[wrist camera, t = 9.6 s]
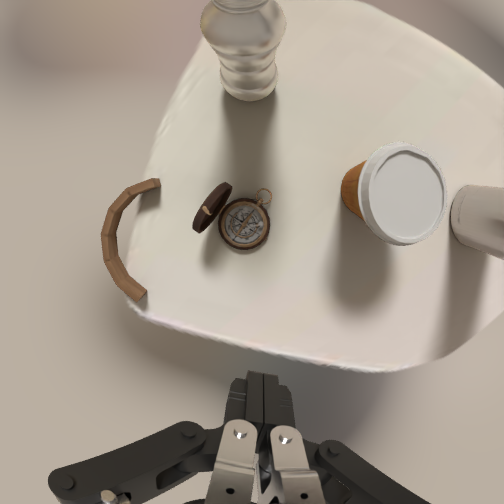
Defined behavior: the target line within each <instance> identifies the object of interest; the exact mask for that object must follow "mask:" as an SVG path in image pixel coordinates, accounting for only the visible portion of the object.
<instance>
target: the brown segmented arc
mask: <svg viewBox="0 0 504 504" xmlns="http://www.w3.org/2000/svg"><path fill="white" fill-rule="evenodd" d="M160 186H161V184H160V180H159V179H156V178H151V179H149V180H146V181H143V182H141V183H138V184H136V185H133V186H131V187H128V188H126V189H125V191H123V192H122V194H121V195H120V196H119V197H118V198H117V199H116V200H115V201H114V203H113V204H112V205H111V206H110V207H109V209H108V212H107V215H106V218H105V222H104V225H103V229H102V232H101V241H102V250H103V259H104V263H105V265H106V267H107V269H108V270H109V272H110V274H111V276H112V278H113V280H114V282H115V283H116V285H117V286H118V287H119V288H120V289H121V290H123V291H124V292H125V293H126V294H127V295H128V296H130V297H131V298H132V299H133V300H134V301H136V302H138V301H139V300H140V299H141V298H142V297H143V296H144V294H145V293H146V291H147V290H146V289H145V288H144V287H142V286H141V285H140V284H139V283H138V282H136V281H135V280H134V279H133V278H132V277H130V276H129V275H128V273H127V271H126V269H125V267H124V265H123V263H122V261H121V259H120V257H119V256H118V248H117V237H116V231H117V228H118V225H119V222H120V218H121V215H122V212H123V210H124V209H125V208H126V207H127V206H128V205H129V204H130V203H131V202H132V200H133V199H134V198H135V197H136V196H137V195H138V194H141V193H144V192H146V191H149V190H152V189H155V188H157V187H160Z"/></svg>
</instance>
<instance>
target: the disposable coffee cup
mask: <svg viewBox="0 0 504 504" xmlns="http://www.w3.org/2000/svg"><path fill="white" fill-rule="evenodd" d="M341 195H342V198H343V201H344V203H345V205H346V206H347V207H348V208H349V209H350V210H351V211H352V212H354V213H355V214H356V215H358V216H359V217H360V218H361V219H363V220H364V221H365V222H366V224H367V225H368V226H369V228H370V229H371V230H372V232H373V233H374V234H375V235H377V236H378V237H379V238H380V239H382V240H383V241H385V242H387V243H390V244H393V245H398V246H406V245H411V244H414V243H417V242H419V241H422V240H424V239H426V238H428V237H429V236H430V235H431V234H432V233H433V232H434V231H435V230H436V229H437V228H438V226H439V225H440V223H441V221H442V219H443V217H444V213H445V210H446V207H447V188H446V182H445V178H444V176H443V173H442V171H441V169H440V167H439V166H438V164H437V162H436V161H435V160H434V159H433V158H432V157H431V156H430V155H429V154H428V153H426V152H425V151H423V150H421V149H420V148H418V147H417V146H414V145H412V144H409V143H405V142H393V143H389V144H386V145H383V146H382V147H380V148H379V149H377V150H375V151H374V152H373V153H372V155H371V156H370V157H369V158H368V159H367V160H366V161H364V162H362V163H361V164H359V165H357V166H356V167H354V168H352V169H350V170H349V171H348V172H347V173H346V175H345V176H344V178H343V180H342V185H341Z"/></svg>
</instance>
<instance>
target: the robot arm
mask: <svg viewBox="0 0 504 504" xmlns="http://www.w3.org/2000/svg"><path fill="white" fill-rule="evenodd" d="M451 224H452V229H453V232H454V234H455V236H456V238H457V239H458V240H459V242H461V243H462V244H464V245H467V246H470V247H472V248H475V249H477V250H480V251H482V252H485V253H487V254H490V255H492V256H495V257H497V258H500V259H502V260H504V188H498V187H488V186H477V185H468V186H465V187H463V188H462V189H461V190H460V191H459V192H458V193H457V195H456V197H455V199H454V201H453V205H452V210H451ZM278 383H279V382H278V375H274V374H268V373H261V372H255V371H250V370H248V372H247V375H246V379H239V378H236V379H235V380H234V381H233V382H232V384H231V387H230V391H229V395H228V399H227V403H226V410H225V417H224V424H223V425H222V426H221V427H219V428H216V429H206V430H204V429H203V428H202V427H201V426H200V425H198V424H197V423H194V422H190V421H182V422H179V423H176V424H174V425H172V426H170V427H168V428H166V429H164V430H161V431H159V432H157V433H155V434H152V435H150V436H148V437H146V438H143V439H141V440H138V441H136V442H134V443H131V444H129V445H126V446H124V447H121V448H118V449H116V450H113V451H110V452H108V453H105V454H102V455H100V456H97V457H94V458H91V459H88V460H85V461H82V462H78V463H75V464H72V465H69V466H65V467H62V468H58V469H55V470H54V471H52V472H51V473H50V475H49V477H48V484H49V487H50V489H51V491H52V492H53V493H54V495H55V496H56V498H57V500H58V501H59V502H60V503H61V504H142V503H144V502H146V501H148V500H150V499H152V498H154V497H156V496H158V495H160V494H162V493H164V492H166V491H168V490H170V489H171V488H173V487H175V486H177V485H179V484H180V483H182V482H184V481H186V480H188V479H189V478H191V477H193V476H194V475H196V474H197V473H198V472H209V471H213V473H212V476H211V480H210V484H209V488H208V492H207V495H206V498H205V499H198V500H193V501H189V502H186V503H184V504H430V503H429V502H427V501H425V500H424V499H422V498H420V497H419V496H417V495H415V494H414V493H412V492H411V491H409V490H408V489H406V488H405V487H403V486H402V485H400V484H398V483H397V482H395V481H394V480H392V479H391V478H389V477H388V476H386V475H385V474H384V473H382V472H381V471H379V470H378V469H377V468H375V467H374V466H372V465H371V464H369V463H368V462H367V461H365V460H364V459H363V458H361V457H360V456H359V455H357V454H356V453H354V452H353V451H352V450H350V449H349V448H348V447H347V446H345V445H344V444H343V443H341V442H339V441H336V440H326V441H324V442H322V443H321V444H320V445H319V444H316V443H312V442H309V441H307V440H305V439H303V438H302V436H301V434H300V433H299V432H298V431H297V430H296V427H295V420H294V412H293V404H292V397H291V392H290V391H289V389H288V388H287V386H283V385H279V384H278ZM255 453H258V454H259V460H258V462H257V464H256V474H257V487H258V502H257V503H253V502H251V497H252V489H253V482H254V474H255V469H254V468H253V463H254V456H255ZM334 477H335V478H334ZM339 481H340V482H339ZM343 484H344V485H343ZM348 488H349V489H348Z"/></svg>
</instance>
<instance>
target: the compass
mask: <svg viewBox="0 0 504 504" xmlns="http://www.w3.org/2000/svg"><path fill="white" fill-rule="evenodd" d="M261 190H267V191H268V192H269V193H270V195H271V198H270V200H269V201H268V202H267V203H269V202H270V201H271V199H272V194H271V192H270V191H269V190H268V189H260V190H259V191H261ZM259 191H258V192H259ZM231 192H232V186H231V185H230V184H228V183H226V182H224V183H222V184H220V185H219V186H217V187H216V188H215V189H214V190H213V191H212V192H211V194H210V195H209V196H208V197H207V198H206V200H205V201H204V203H203V204H202V205H201V207H200V209H199V210H198V212H197V214H196V216H195V218H194V221H193V227H192V228H193V229H194V230H195V231H196V232H198V233H201V232H203V231H204V230H205V229H206V228H207V227H208V226H209V225H210V224H211V223H212V222H213V220H214V219H215V218H216V217H217V215H218V214H220V215H219V221H218V226H219V232H220V234H221V236H222V238H223V239H224V241H225V242H226V243H227V244H229V245H230V246H232V247H234V248H237V249H240V250H248V249H252V248H255V247H257V246H259V245H260V244H261V243H262V242H263V241H264V240H266V239H267V238H266V237H267V235H268V233H269V229H270V218H269V216H268V213H267V211H266V209H265V208H264V207H263V206H262V205H261V204H267V203H262V202H263V201H264V200H263V199H261V198H260V199H259V200H258V198H257V195H258V192H257V194H256V199H257V201H258V202H257V201H255V200H252V199H248V198H241V199H237V200H234V201H232V202H230V203H229V204H227V205H226V206H225V203H226V202H227V200H228V198H229V196H230V194H231Z"/></svg>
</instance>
